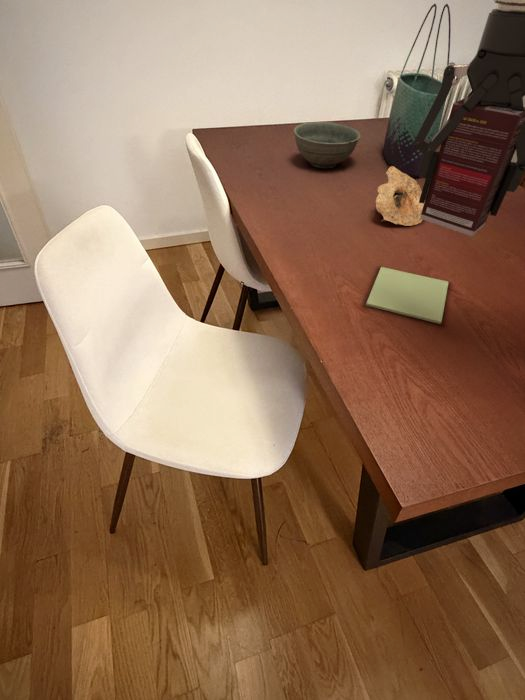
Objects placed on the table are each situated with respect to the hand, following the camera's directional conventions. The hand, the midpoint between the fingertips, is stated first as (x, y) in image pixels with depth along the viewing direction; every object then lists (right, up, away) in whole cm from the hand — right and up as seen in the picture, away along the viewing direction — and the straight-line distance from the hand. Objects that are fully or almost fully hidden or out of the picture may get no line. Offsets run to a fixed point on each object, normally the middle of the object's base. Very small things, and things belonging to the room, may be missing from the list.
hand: (457, 205), depth 60 cm
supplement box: (0, -2, +2) cm, 3 cm away
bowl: (-9, +40, +72) cm, 83 cm away
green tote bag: (+18, +41, +73) cm, 86 cm away
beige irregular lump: (+7, +14, +46) cm, 49 cm away
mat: (0, -10, +21) cm, 23 cm away
